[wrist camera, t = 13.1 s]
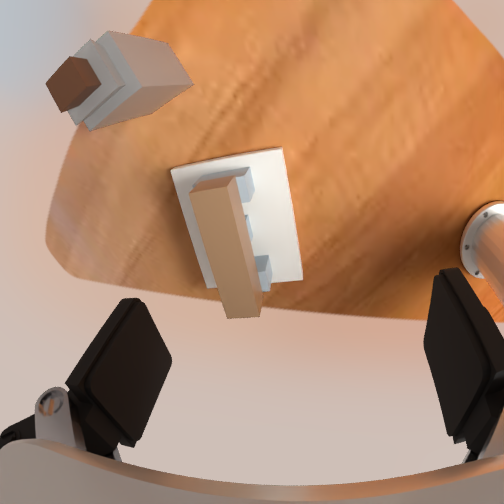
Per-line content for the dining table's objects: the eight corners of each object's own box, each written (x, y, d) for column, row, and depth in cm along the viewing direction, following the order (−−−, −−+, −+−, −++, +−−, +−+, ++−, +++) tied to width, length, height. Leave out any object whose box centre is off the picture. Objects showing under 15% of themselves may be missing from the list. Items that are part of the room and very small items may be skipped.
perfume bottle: (167, 43, 31) (76, 26, 15) (194, 84, 33) (113, 89, 18) (127, 73, 33) (27, 82, 18) (151, 113, 36) (58, 142, 20)
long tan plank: (235, 174, 33) (226, 186, 29) (263, 296, 40) (259, 316, 37) (200, 181, 34) (188, 193, 30) (233, 298, 41) (227, 318, 38)
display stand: (281, 146, 36) (278, 156, 31) (303, 273, 44) (302, 297, 40) (174, 167, 39) (157, 179, 34) (209, 282, 47) (199, 305, 43)
